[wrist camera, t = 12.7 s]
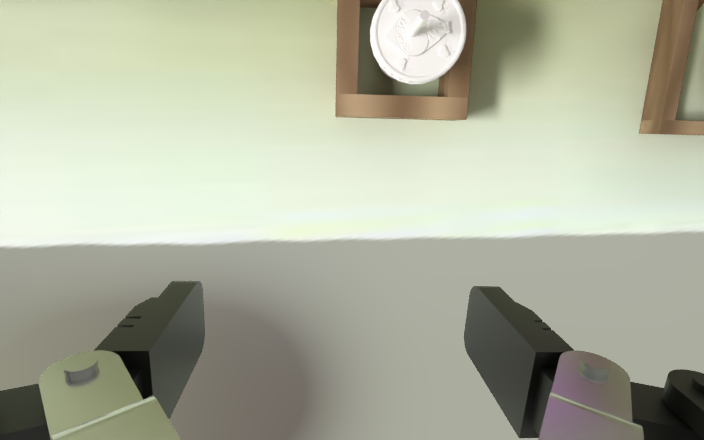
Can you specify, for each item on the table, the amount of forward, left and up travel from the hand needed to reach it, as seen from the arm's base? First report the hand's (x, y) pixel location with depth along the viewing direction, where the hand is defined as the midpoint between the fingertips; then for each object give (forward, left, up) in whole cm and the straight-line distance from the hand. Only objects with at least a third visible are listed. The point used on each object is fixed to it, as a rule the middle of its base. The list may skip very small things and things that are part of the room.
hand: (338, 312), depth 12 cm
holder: (+5, +12, -27) cm, 30 cm away
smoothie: (+5, +12, -27) cm, 30 cm away
